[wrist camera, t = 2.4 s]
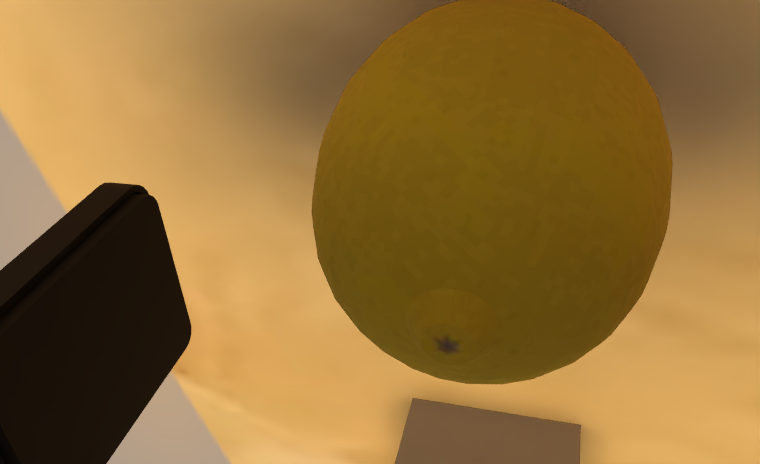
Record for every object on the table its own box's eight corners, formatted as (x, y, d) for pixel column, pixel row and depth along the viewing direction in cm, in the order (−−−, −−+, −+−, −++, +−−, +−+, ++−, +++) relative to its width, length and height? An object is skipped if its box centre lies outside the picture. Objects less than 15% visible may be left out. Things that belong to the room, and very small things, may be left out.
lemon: (712, 10, 13) (830, 279, 6) (571, 227, 16) (555, 543, 10) (437, -104, 13) (279, 51, 6) (355, 137, 16) (202, 392, 10)
